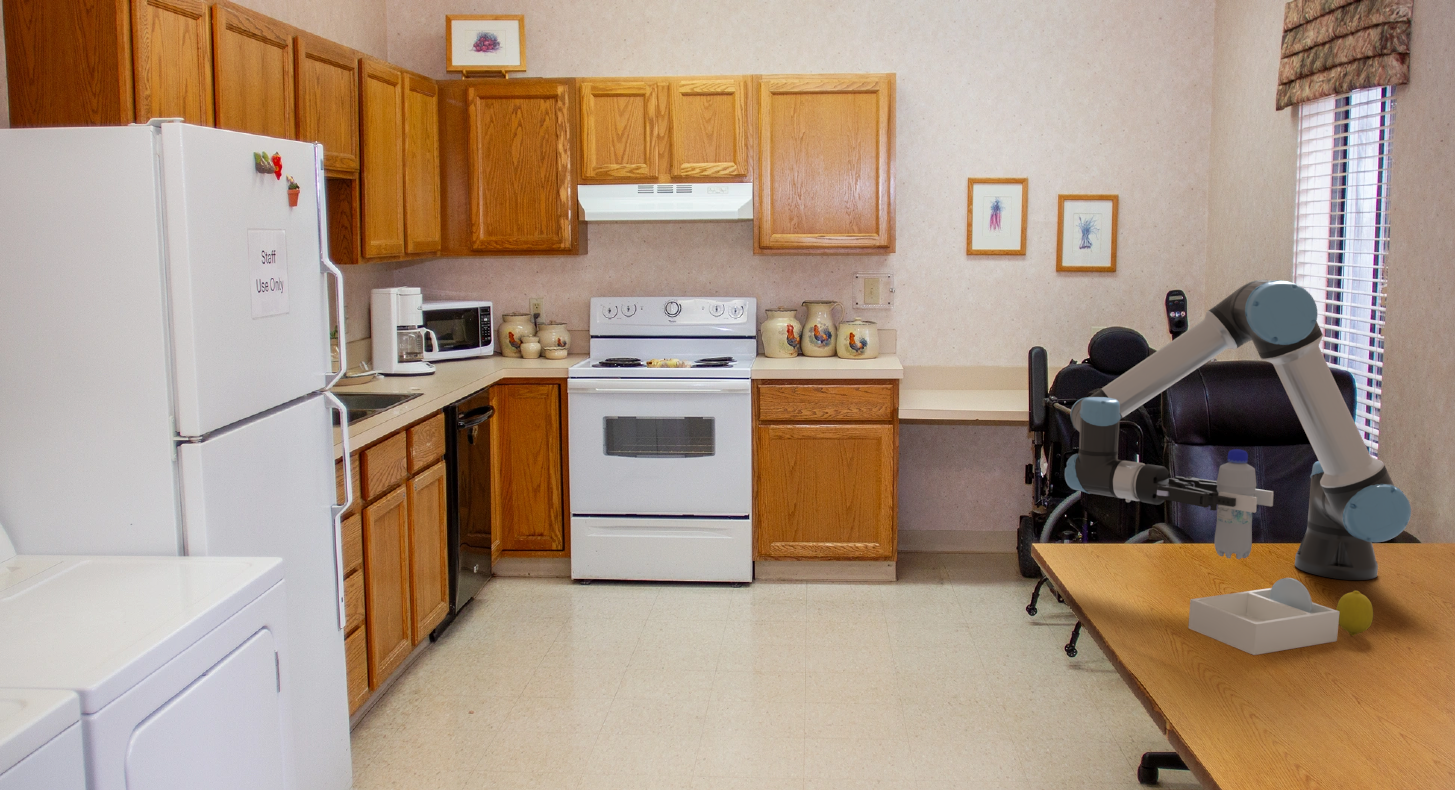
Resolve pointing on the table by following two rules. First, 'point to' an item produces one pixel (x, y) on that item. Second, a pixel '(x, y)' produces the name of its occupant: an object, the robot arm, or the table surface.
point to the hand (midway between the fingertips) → (1263, 501)
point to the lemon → (1355, 612)
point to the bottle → (1230, 522)
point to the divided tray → (1265, 618)
